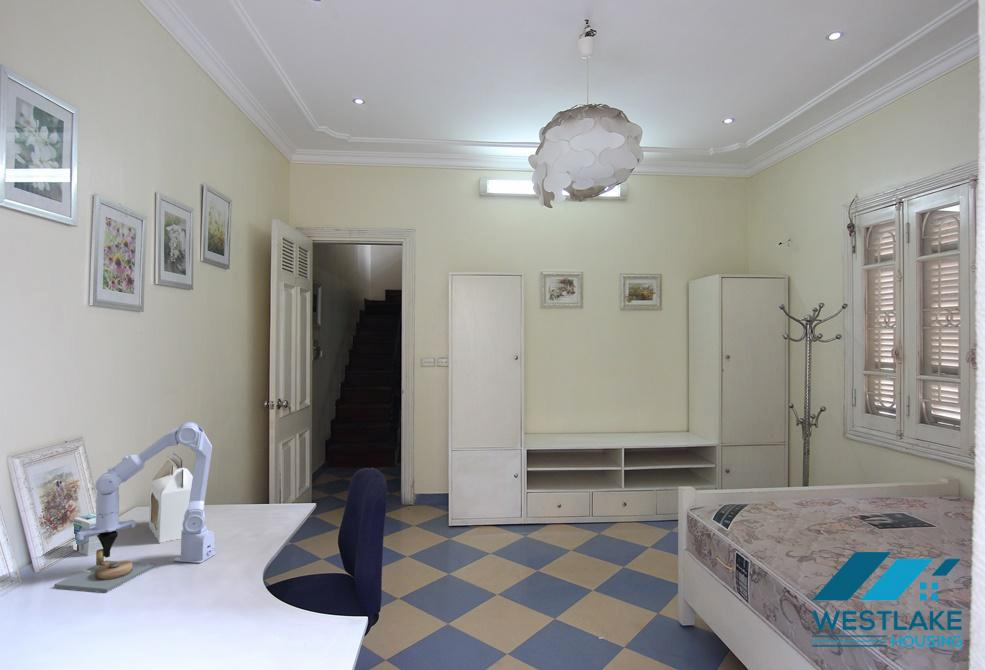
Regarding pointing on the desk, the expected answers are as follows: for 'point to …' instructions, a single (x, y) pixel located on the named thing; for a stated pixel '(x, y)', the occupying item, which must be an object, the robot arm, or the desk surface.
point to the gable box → (169, 499)
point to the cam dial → (110, 567)
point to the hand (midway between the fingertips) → (106, 556)
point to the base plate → (90, 583)
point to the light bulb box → (91, 543)
